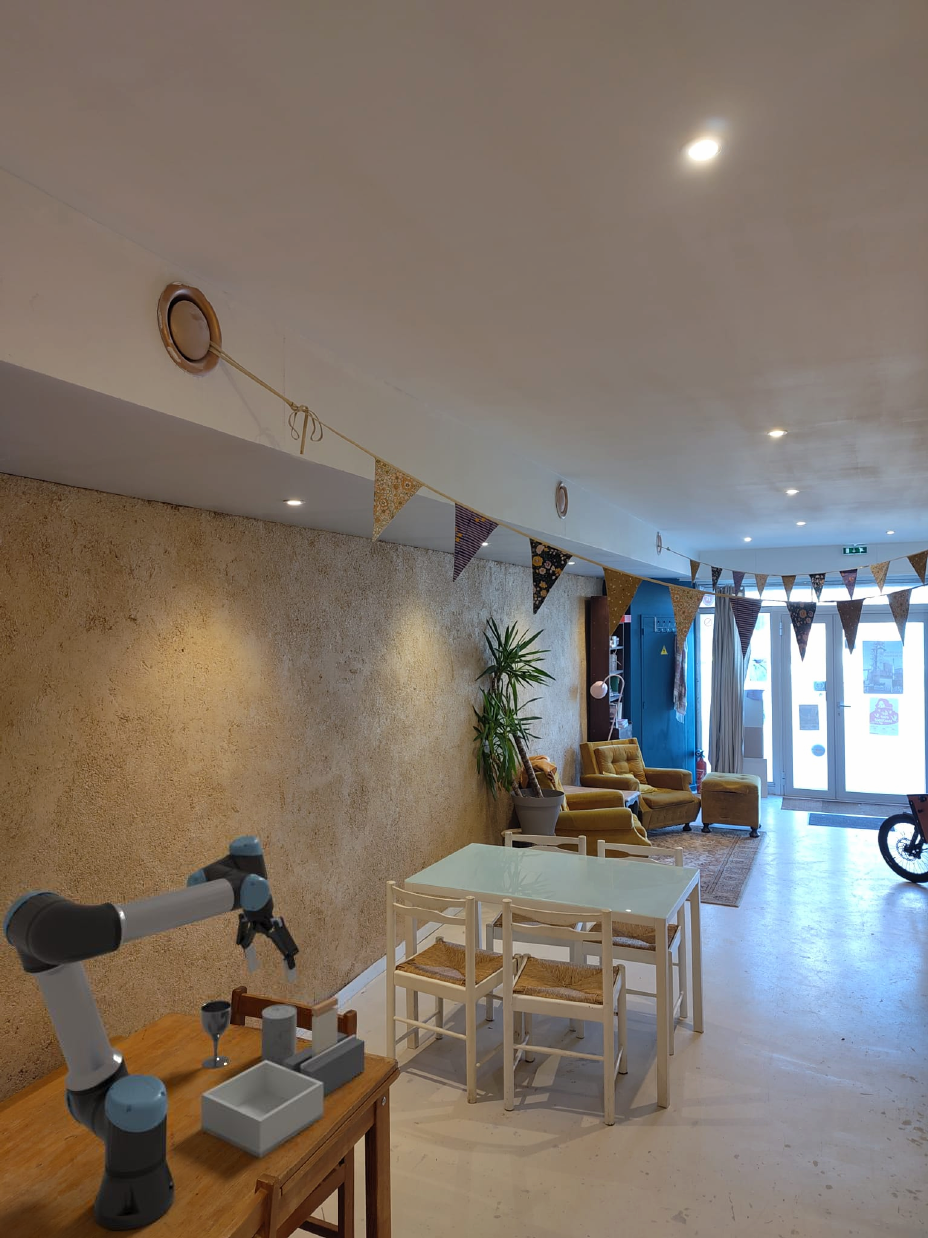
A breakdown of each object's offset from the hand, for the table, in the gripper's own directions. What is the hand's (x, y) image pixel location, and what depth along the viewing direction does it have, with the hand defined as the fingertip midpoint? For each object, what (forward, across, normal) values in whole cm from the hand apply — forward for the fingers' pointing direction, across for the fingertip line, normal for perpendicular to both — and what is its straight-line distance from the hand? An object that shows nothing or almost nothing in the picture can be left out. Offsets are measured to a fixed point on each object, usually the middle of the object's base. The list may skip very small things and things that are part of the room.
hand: (273, 975), depth 211 cm
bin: (+27, -6, +17) cm, 32 cm away
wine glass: (+29, +27, +4) cm, 40 cm away
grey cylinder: (+33, +15, -8) cm, 37 cm away
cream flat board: (+29, -5, -6) cm, 30 cm away
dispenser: (+32, -5, -4) cm, 33 cm away
